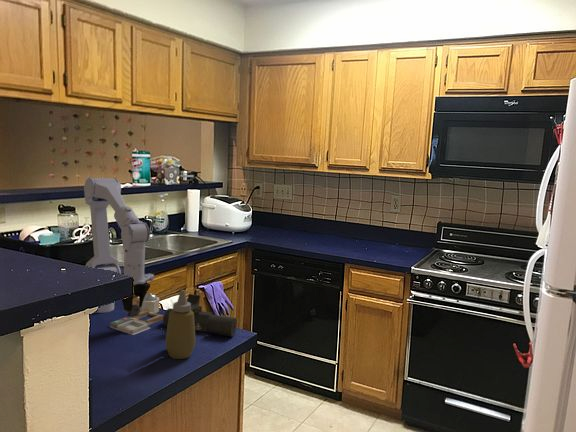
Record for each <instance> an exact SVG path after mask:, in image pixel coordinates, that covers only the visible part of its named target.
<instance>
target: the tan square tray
mask: <svg viewBox="0 0 576 432" xmlns="http://www.w3.org/2000/svg"><path fill="white" fill-rule="evenodd" d="M148 316H151V318H147V319H146V320H141V319H143V318H144V317H148ZM163 316H164V314H160V313H157V312H156V313H152V312H149V311H147V310H146V311H143V312H140V311H139V315H137V316H129V318H130V319H132V320H137V321H140V322H143V323H146V324H147V325H148V326H150V325H152V324H155V323H157V322H158V323H159V322H160V321H163Z"/></svg>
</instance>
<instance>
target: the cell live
mask: <svg viewBox="0 0 576 432" xmlns="http://www.w3.org/2000/svg"><path fill="white" fill-rule="evenodd" d="M139 306H140V295H137V294H134V295H133V299H132V308H131V311H126V317H127V316H128V317H131V316H137V315H139V313H140V308H139Z"/></svg>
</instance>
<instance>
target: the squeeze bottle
mask: <svg viewBox="0 0 576 432" xmlns="http://www.w3.org/2000/svg"><path fill="white" fill-rule="evenodd" d="M187 300H188V298H187V294H186V290H185V289H181V290H180V291H179V295H178V299H177V301H175V302H173V304H172V305H173V306H172V309H173V310H172V311H171V312H170V313H169V319H168V326H166V327H167V328H166V334H165V335H166V336H165V341H164V343H165V347H166V351H167V353H168V354H167V355H168V357H170V358H171V359H175V360H184V359H188V358H189V357H191V356H192V353H193V350H194V347H195V346H196V343H197V342H196V331H195V321H194V312H193V311H191V303H189V302H187Z"/></svg>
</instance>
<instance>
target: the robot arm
mask: <svg viewBox="0 0 576 432" xmlns="http://www.w3.org/2000/svg"><path fill="white" fill-rule="evenodd" d="M83 191H84V200H85V204H86V205H88V206H89V209H90V220H91V232H92V244H93V245H92V247H93V255H94V256H93V257H92V258H90V259H89V260H88V261H87V262H86V263H85V267H86V266H88V267H92V268H97V269H104V270H111V271H114V272H117V273H120V274H121V275H122V272H121V271H122V270H121V268H120V263H119V260H118V259H117V258H115V257H114V256H112V255H111V246H110V232H109V223H108V222H109V221H108V212H107V211H108V210H107V208H108V206H109V205H110V207H111V208H112V210H113V211H114V213H113V217H114V220H115V221H116V223H117V225H118V227H119V228H120V230H121V232H120V236H121V240H122V248H123V249H124V253H123V254H124V259H123V260H124V261H123V276H124V275H128V276H132V277H133V279H134V282H133V283H134V293H133V295H134V294H137V295H140V306H139V309H140V308H141V307H142V304H143V300H144V297H145V295H146V294H147V293H148V291H149V289H150V288H151V283H148V282H154V281H155V274H154V273H149V272H148V273H145V265H146V263H145V259H146V243H148V241H149V239H150V233H151V232H150V228H149V226H148V224H147V223H146V222H143V221H141V220H139V218H138V216H137V215H136V213H135V211H134V210H133V208H132V207H131V206H128V205H127V204H126V203H125V200H124V199H123V197H122V194H121V193H122V185H121V180H119V178H117V177H114V178H112V177H110V178H108V177H87V179H86V180H85V182H84V185H83ZM132 299H133V296H131V297H129V298H126V299H123V300H122V299H121V301H122V305H123V310H124V311H125V312H127V311H131V308H132ZM114 310H115V302H114V303H111V304H108V305H104V306H101V307H100V308H98V311H97V312H96V313H101V314H102V313H110V312H112V311H114Z"/></svg>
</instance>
